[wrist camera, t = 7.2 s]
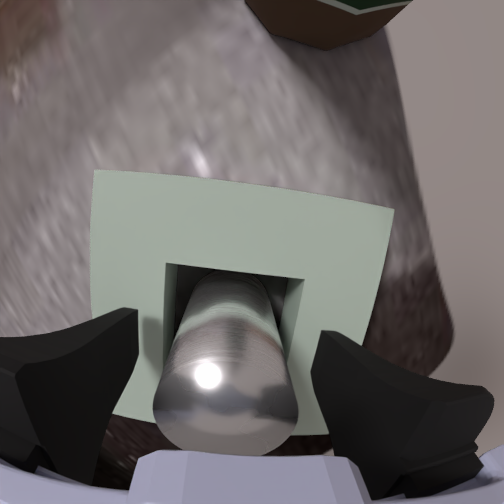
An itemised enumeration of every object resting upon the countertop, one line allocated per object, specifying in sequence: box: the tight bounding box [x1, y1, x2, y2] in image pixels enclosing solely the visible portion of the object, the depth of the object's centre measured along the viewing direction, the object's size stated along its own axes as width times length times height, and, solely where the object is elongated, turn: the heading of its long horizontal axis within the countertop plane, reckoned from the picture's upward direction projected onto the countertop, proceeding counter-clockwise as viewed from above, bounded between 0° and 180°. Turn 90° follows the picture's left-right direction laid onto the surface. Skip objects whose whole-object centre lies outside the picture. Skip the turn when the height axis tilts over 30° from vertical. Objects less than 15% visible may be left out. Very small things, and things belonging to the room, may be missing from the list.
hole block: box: [90, 170, 395, 435], centre depth 14 cm, size 12×12×3 cm
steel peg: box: [153, 270, 299, 456], centre depth 11 cm, size 4×4×8 cm
